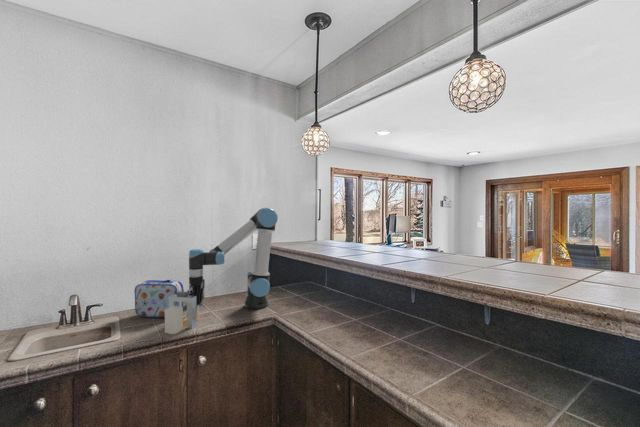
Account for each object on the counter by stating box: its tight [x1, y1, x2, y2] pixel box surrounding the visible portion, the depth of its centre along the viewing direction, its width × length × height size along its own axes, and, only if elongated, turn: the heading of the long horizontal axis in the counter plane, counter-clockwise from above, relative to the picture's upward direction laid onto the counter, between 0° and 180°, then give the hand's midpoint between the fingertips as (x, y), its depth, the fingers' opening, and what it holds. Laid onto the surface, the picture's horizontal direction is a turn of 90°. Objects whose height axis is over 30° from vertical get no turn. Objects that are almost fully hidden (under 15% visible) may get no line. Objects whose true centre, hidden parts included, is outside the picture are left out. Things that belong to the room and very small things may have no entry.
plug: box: [164, 306, 199, 335], centre depth 162 cm, size 21×6×12 cm, turn 167°
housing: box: [169, 291, 197, 330], centre depth 162 cm, size 14×4×18 cm, turn 78°
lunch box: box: [134, 279, 185, 319], centre depth 178 cm, size 28×10×22 cm, turn 89°
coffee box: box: [188, 278, 206, 305], centre depth 200 cm, size 9×6×16 cm
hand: (196, 316), depth 173 cm, fingers closed
